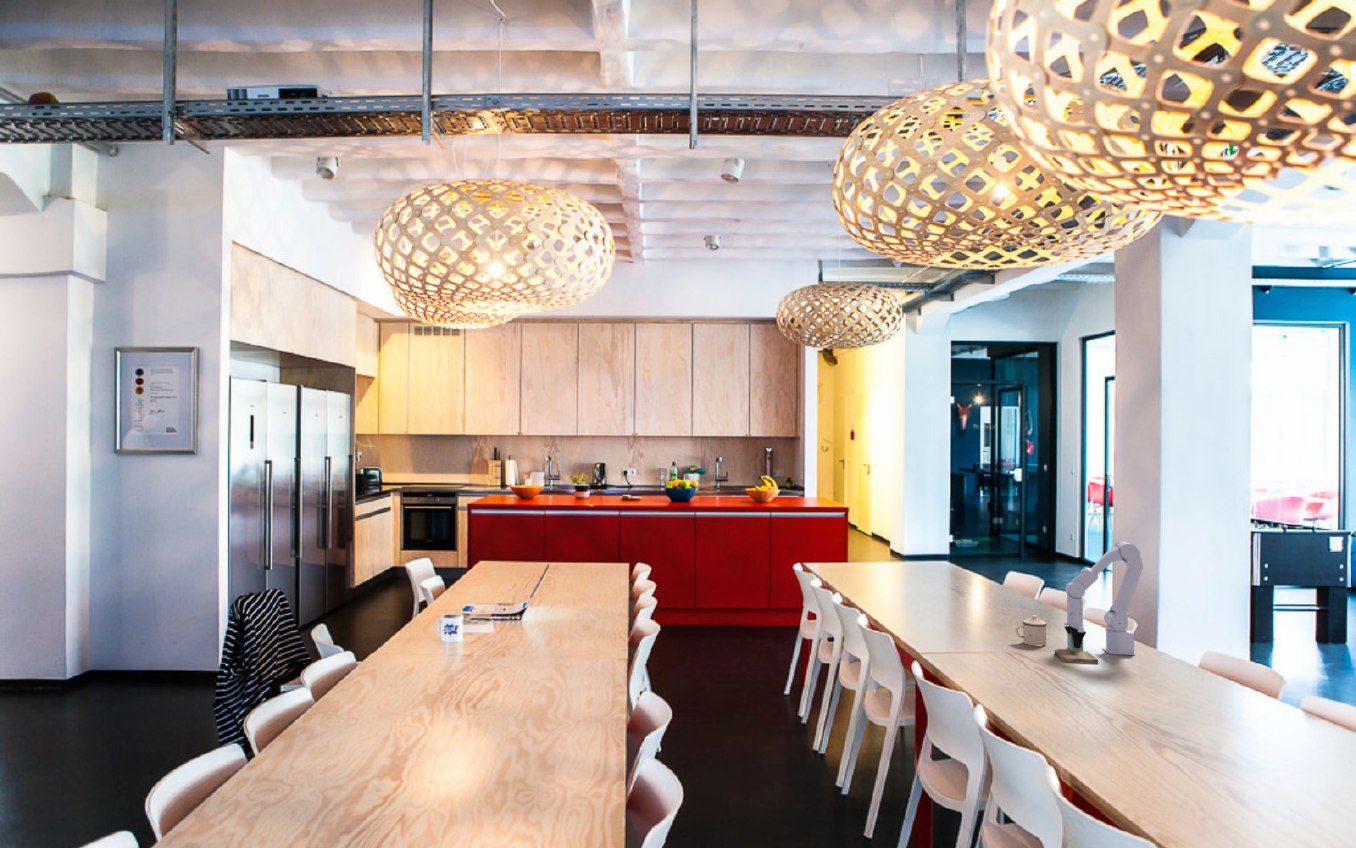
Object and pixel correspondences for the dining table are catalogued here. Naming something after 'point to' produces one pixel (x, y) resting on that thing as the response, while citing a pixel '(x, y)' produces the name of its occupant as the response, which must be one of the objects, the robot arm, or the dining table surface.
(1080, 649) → the teal block
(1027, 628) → the teacup with lid
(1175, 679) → the dining table surface
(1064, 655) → the walnut slab
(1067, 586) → the robot arm
